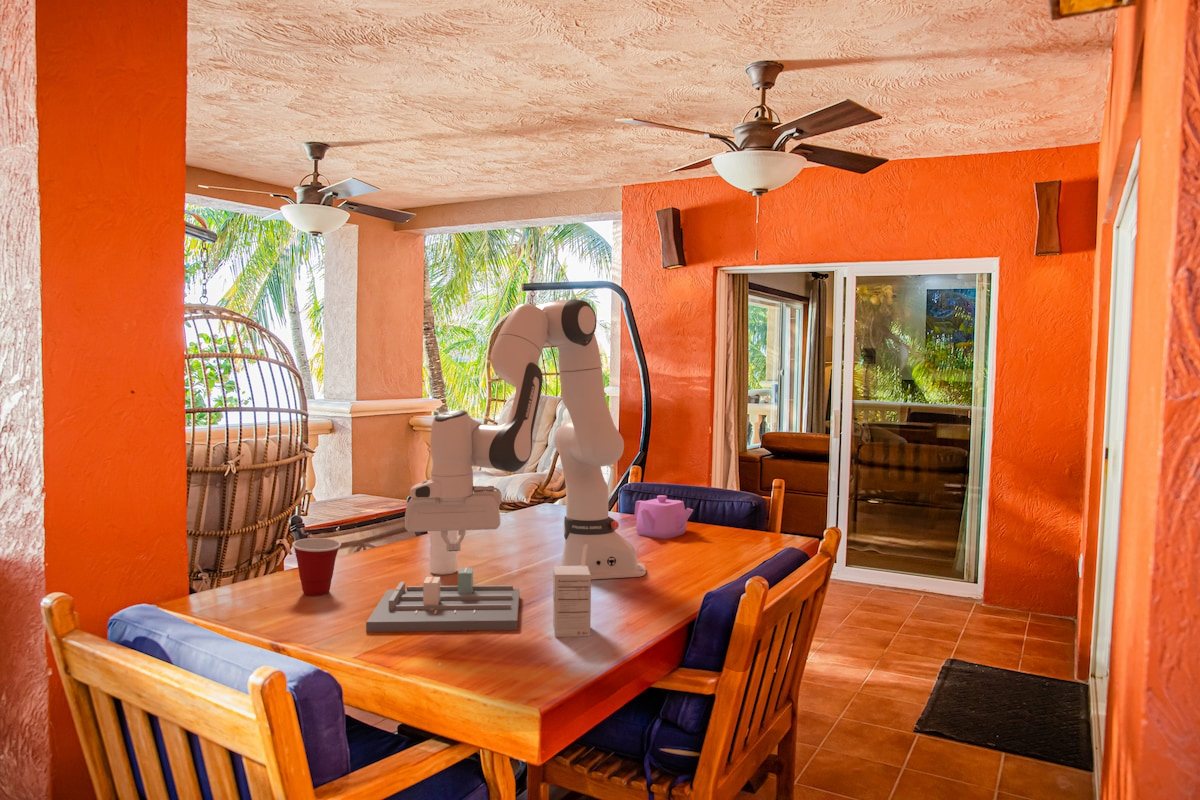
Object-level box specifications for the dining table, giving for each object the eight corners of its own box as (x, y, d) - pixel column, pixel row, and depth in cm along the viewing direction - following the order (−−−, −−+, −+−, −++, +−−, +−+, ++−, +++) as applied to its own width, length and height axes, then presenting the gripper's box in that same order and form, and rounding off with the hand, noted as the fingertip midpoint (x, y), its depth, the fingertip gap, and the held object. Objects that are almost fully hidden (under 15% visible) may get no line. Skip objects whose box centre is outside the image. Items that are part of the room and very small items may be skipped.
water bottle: (451, 576, 212) (451, 477, 211) (425, 574, 213) (425, 476, 212) (461, 569, 219) (461, 474, 218) (435, 567, 220) (436, 473, 219)
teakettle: (679, 528, 278) (680, 491, 278) (694, 538, 261) (695, 499, 261) (629, 529, 275) (630, 492, 275) (641, 540, 258) (641, 500, 258)
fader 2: (473, 589, 191) (473, 567, 191) (471, 595, 186) (471, 572, 186) (459, 589, 191) (459, 567, 191) (457, 595, 186) (457, 572, 186)
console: (519, 597, 194) (519, 580, 194) (516, 630, 170) (517, 610, 170) (387, 598, 191) (387, 581, 191) (366, 631, 167) (366, 612, 167)
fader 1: (440, 599, 183) (440, 576, 183) (437, 606, 178) (437, 582, 178) (426, 599, 183) (426, 576, 182) (423, 606, 178) (423, 582, 177)
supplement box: (552, 625, 173) (553, 565, 172) (588, 625, 174) (589, 564, 173) (553, 637, 166) (554, 574, 165) (590, 637, 166) (591, 573, 166)
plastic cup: (317, 602, 188) (317, 548, 187) (281, 595, 192) (281, 544, 192) (351, 590, 198) (351, 540, 197) (316, 584, 202) (316, 535, 202)
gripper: (501, 483, 183) (502, 545, 184) (406, 485, 182) (408, 548, 182) (500, 488, 177) (501, 552, 178) (402, 490, 175) (404, 555, 176)
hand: (453, 550), depth 180 cm, fingers closed
